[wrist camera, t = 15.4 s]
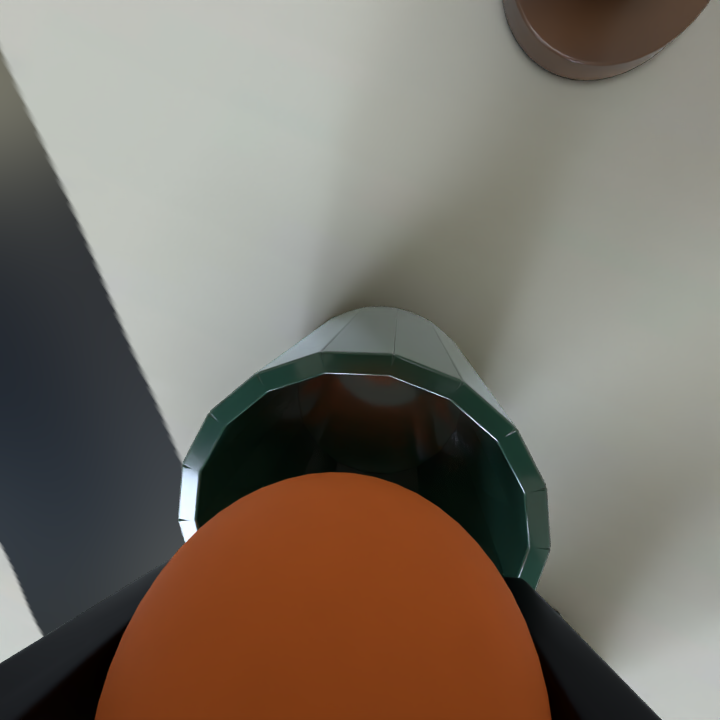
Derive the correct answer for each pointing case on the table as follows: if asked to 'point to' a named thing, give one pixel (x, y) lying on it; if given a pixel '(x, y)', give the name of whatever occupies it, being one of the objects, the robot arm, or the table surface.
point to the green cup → (377, 433)
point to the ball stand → (597, 32)
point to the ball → (327, 616)
